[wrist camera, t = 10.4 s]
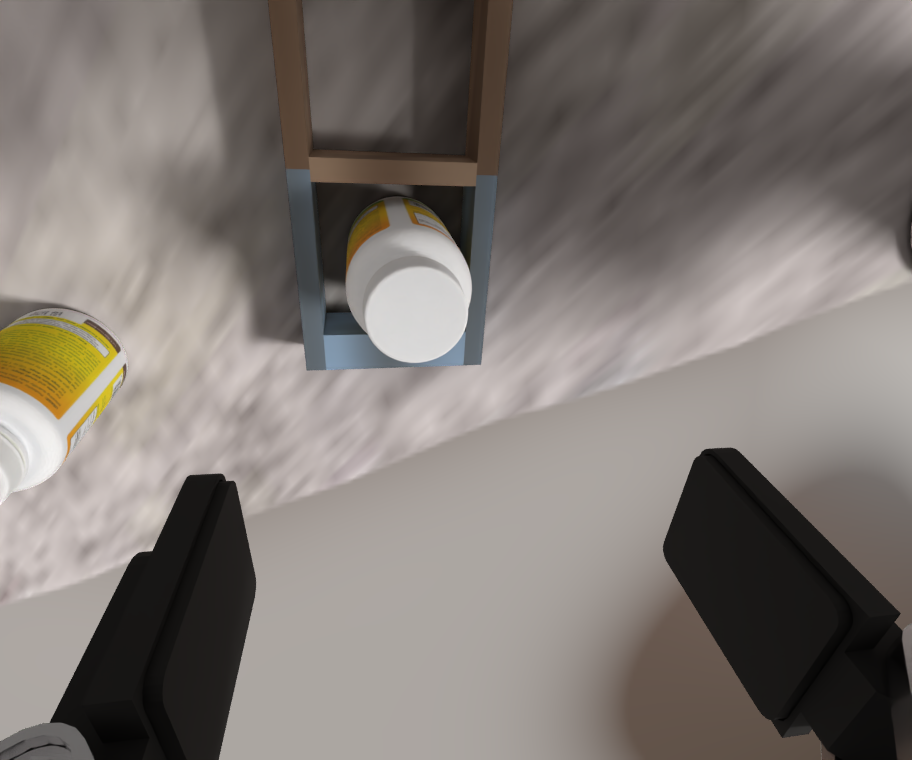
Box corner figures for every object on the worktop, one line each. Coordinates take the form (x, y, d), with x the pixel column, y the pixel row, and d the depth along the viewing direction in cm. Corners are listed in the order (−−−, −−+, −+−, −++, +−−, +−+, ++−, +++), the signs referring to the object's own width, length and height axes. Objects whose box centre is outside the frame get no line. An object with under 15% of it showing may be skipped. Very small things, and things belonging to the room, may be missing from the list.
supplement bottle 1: (-4, 301, 25) (-190, 415, 17) (121, 306, 27) (6, 416, 18) (29, 396, 28) (-117, 537, 19) (141, 397, 29) (49, 531, 21)
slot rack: (503, -90, 21) (523, -113, 19) (470, 341, 31) (481, 364, 28) (265, -120, 20) (252, -150, 17) (311, 345, 29) (306, 370, 27)
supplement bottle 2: (355, 299, 29) (356, 388, 20) (339, 199, 26) (331, 255, 17) (450, 288, 29) (488, 370, 21) (444, 189, 26) (485, 239, 18)
